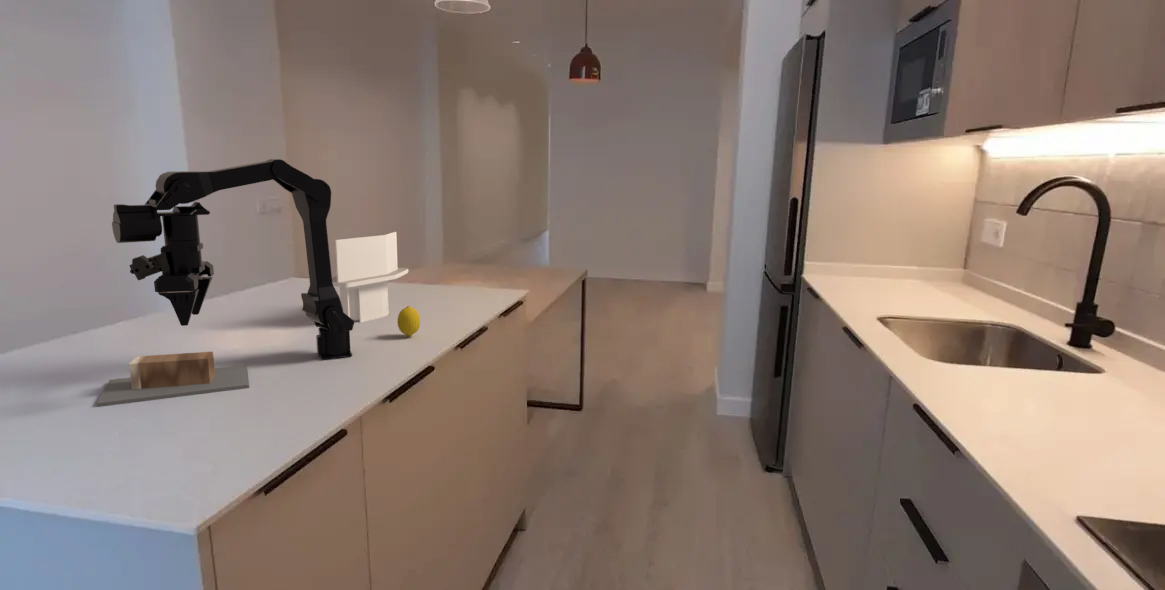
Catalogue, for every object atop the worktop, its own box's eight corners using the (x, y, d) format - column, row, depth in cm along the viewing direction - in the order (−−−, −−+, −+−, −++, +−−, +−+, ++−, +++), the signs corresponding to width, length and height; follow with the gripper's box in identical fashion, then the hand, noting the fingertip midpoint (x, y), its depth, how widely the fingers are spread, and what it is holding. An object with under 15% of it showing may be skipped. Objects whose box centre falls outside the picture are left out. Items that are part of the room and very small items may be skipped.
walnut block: (212, 351, 130) (137, 356, 126) (207, 358, 125) (128, 364, 121) (215, 375, 131) (140, 381, 127) (210, 383, 126) (132, 389, 122)
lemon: (393, 338, 163) (392, 307, 162) (407, 332, 168) (406, 302, 167) (411, 340, 161) (410, 309, 160) (424, 335, 166) (424, 305, 165)
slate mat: (247, 367, 138) (247, 364, 138) (249, 387, 126) (248, 384, 126) (109, 382, 127) (109, 379, 127) (97, 406, 115) (97, 403, 115)
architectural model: (351, 304, 200) (348, 229, 195) (419, 307, 199) (417, 231, 194) (308, 327, 172) (303, 239, 168) (386, 330, 171) (383, 242, 167)
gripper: (147, 234, 128) (155, 311, 131) (115, 246, 111) (125, 334, 114) (210, 233, 132) (217, 308, 135) (189, 245, 115) (197, 330, 118)
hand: (190, 319), depth 125 cm, fingers open, 9 cm apart
